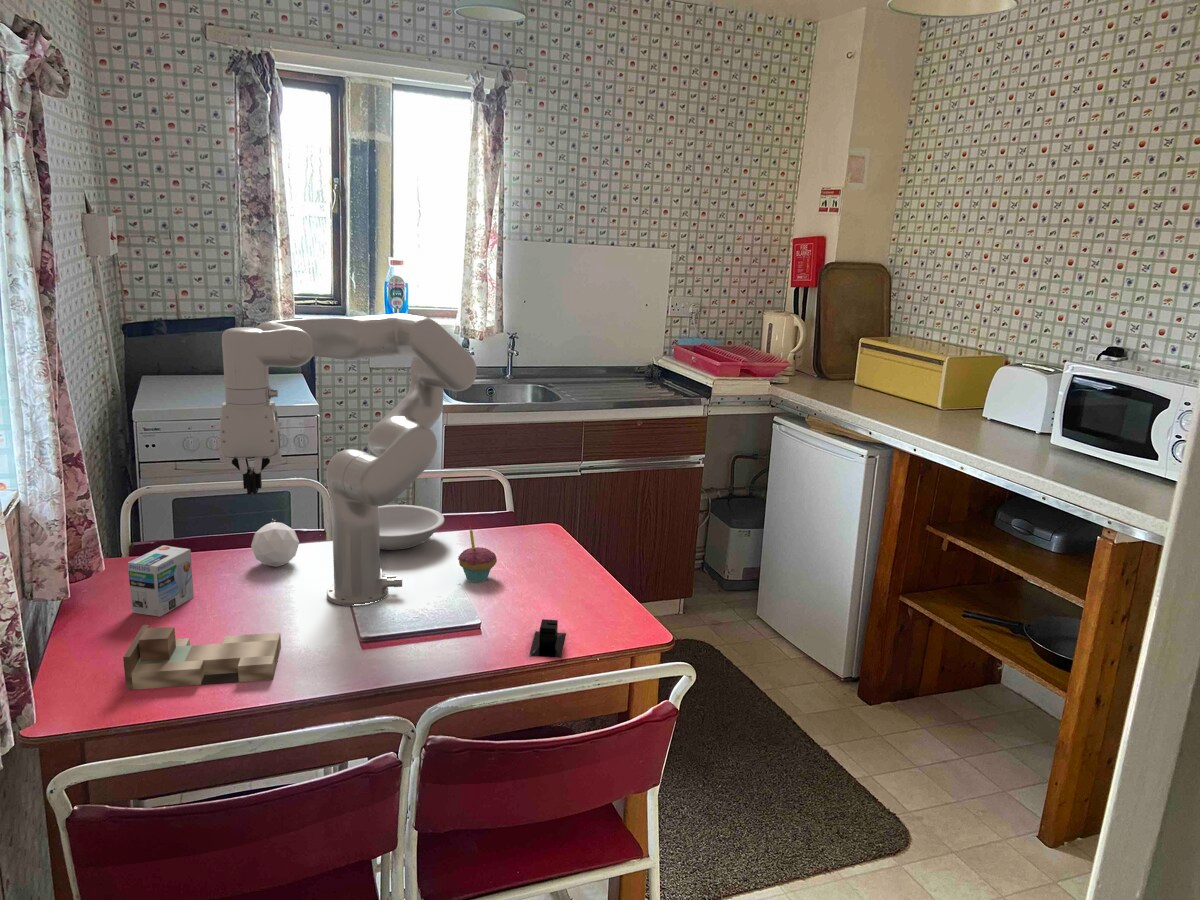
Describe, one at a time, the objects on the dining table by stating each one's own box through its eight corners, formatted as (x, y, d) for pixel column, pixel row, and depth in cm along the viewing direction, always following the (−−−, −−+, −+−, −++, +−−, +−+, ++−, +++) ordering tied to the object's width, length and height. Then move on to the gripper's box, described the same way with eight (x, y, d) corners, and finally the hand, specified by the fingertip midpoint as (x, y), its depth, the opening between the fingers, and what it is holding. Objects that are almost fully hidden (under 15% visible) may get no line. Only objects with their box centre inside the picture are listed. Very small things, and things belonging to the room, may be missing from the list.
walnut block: (176, 647, 153) (174, 626, 152) (169, 659, 149) (167, 638, 148) (148, 649, 152) (146, 628, 151) (140, 661, 148) (138, 639, 147)
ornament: (252, 574, 193) (252, 554, 206) (301, 569, 196) (298, 550, 210) (249, 531, 191) (249, 514, 204) (299, 527, 194) (296, 511, 208)
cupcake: (451, 581, 195) (451, 530, 192) (470, 568, 202) (471, 519, 199) (484, 588, 192) (485, 537, 189) (503, 575, 199) (504, 525, 196)
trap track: (281, 647, 161) (279, 617, 160) (272, 679, 150) (271, 647, 148) (145, 656, 156) (142, 625, 154) (126, 690, 144) (123, 657, 143)
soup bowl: (417, 522, 232) (416, 499, 230) (462, 550, 214) (462, 524, 212) (329, 539, 217) (328, 513, 216) (370, 569, 199) (369, 542, 197)
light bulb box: (160, 618, 171) (156, 566, 168) (130, 613, 172) (125, 562, 169) (195, 596, 181) (192, 547, 178) (167, 592, 182) (162, 544, 180)
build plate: (564, 664, 161) (565, 640, 160) (522, 662, 161) (523, 638, 160) (570, 632, 174) (571, 610, 172) (531, 630, 174) (532, 608, 173)
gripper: (292, 392, 164) (296, 485, 168) (207, 392, 160) (214, 487, 165) (288, 400, 157) (292, 497, 161) (199, 400, 153) (206, 499, 158)
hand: (253, 492), depth 163 cm, fingers closed
